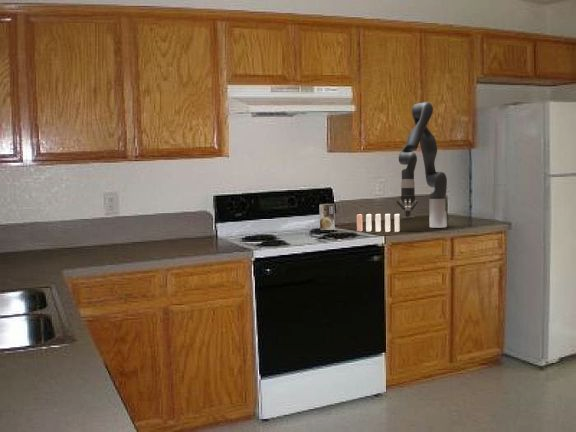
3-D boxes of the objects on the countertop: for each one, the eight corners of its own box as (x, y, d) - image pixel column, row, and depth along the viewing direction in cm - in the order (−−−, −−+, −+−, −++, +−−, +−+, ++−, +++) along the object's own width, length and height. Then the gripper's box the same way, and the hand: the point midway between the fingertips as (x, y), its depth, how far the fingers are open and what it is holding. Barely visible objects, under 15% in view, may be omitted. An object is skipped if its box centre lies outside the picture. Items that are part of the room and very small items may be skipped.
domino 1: (362, 230, 359) (362, 214, 358) (361, 231, 354) (360, 214, 353) (358, 230, 360) (358, 214, 359) (357, 231, 355) (356, 214, 354)
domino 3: (380, 231, 356) (380, 214, 355) (379, 231, 351) (379, 214, 350) (376, 231, 356) (376, 214, 356) (375, 231, 352) (375, 214, 351)
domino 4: (390, 231, 354) (390, 214, 353) (389, 231, 349) (389, 214, 349) (386, 231, 355) (386, 214, 354) (385, 231, 350) (384, 214, 349)
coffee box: (335, 229, 371) (334, 203, 370) (334, 230, 364) (334, 204, 363) (320, 230, 372) (319, 203, 370) (319, 231, 365) (319, 204, 364)
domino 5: (399, 231, 352) (399, 213, 352) (398, 231, 348) (398, 214, 347) (395, 231, 353) (395, 214, 352) (394, 231, 348) (394, 214, 348)
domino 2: (371, 230, 357) (371, 214, 357) (370, 231, 353) (370, 214, 352) (367, 230, 358) (367, 214, 357) (366, 231, 353) (365, 214, 353)
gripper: (420, 186, 348) (420, 216, 350) (397, 187, 352) (397, 216, 353) (419, 187, 341) (419, 217, 342) (395, 187, 345) (395, 217, 346)
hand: (408, 217), depth 348 cm, fingers closed
